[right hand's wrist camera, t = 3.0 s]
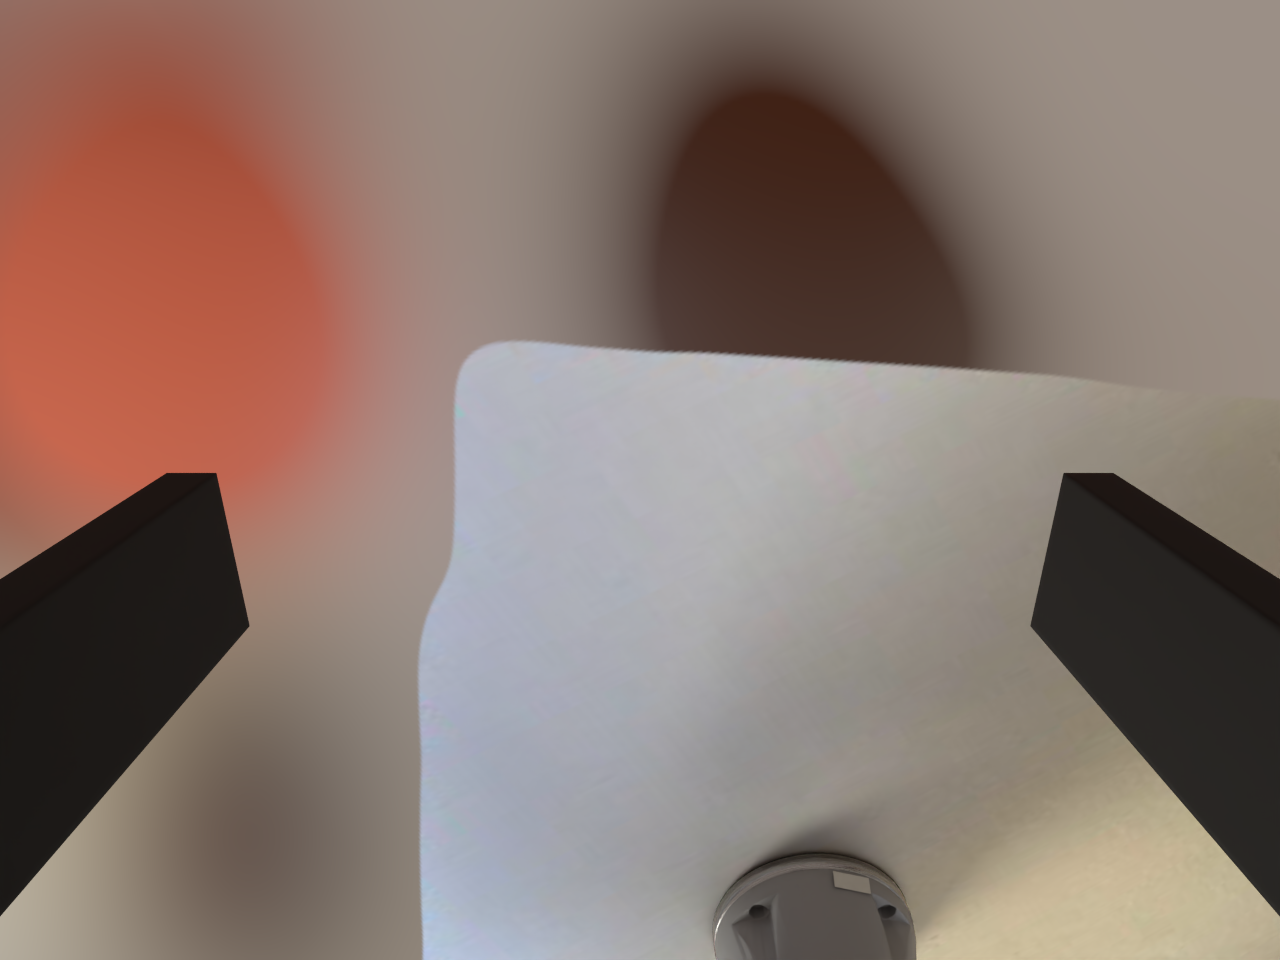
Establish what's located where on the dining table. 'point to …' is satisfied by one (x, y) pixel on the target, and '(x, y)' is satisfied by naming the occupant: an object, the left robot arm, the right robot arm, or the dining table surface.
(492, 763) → the dining table surface
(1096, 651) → the right robot arm
